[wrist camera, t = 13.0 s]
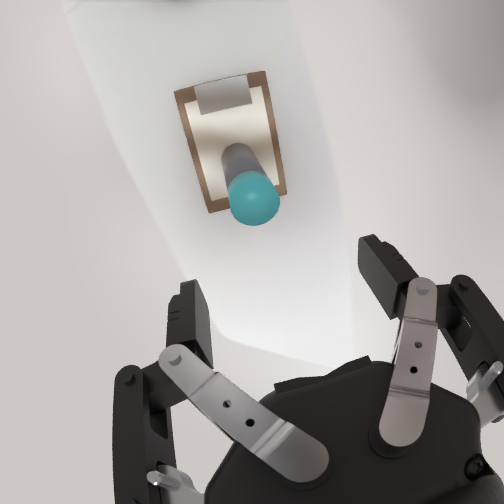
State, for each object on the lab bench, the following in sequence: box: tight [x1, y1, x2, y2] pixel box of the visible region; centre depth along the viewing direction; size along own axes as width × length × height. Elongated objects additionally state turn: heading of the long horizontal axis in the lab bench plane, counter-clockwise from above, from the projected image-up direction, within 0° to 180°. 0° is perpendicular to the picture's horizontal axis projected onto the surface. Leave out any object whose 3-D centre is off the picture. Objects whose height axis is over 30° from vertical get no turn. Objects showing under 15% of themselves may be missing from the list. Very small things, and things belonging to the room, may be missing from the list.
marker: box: [221, 143, 280, 226], centre depth 25 cm, size 4×4×11 cm
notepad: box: [174, 71, 287, 213], centre depth 28 cm, size 14×9×2 cm, turn 11°
